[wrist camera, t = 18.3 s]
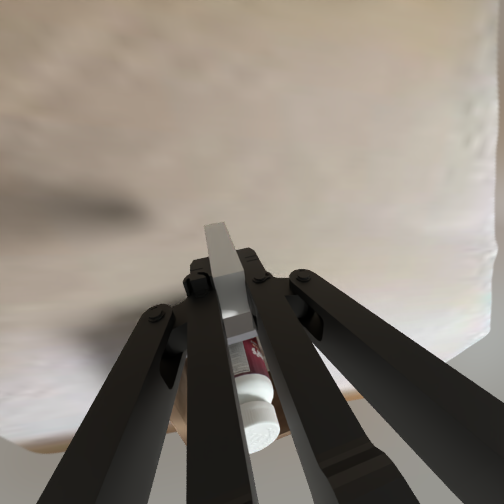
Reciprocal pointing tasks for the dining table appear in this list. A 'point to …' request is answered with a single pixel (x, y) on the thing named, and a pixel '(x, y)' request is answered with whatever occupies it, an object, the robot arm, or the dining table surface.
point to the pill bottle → (254, 394)
